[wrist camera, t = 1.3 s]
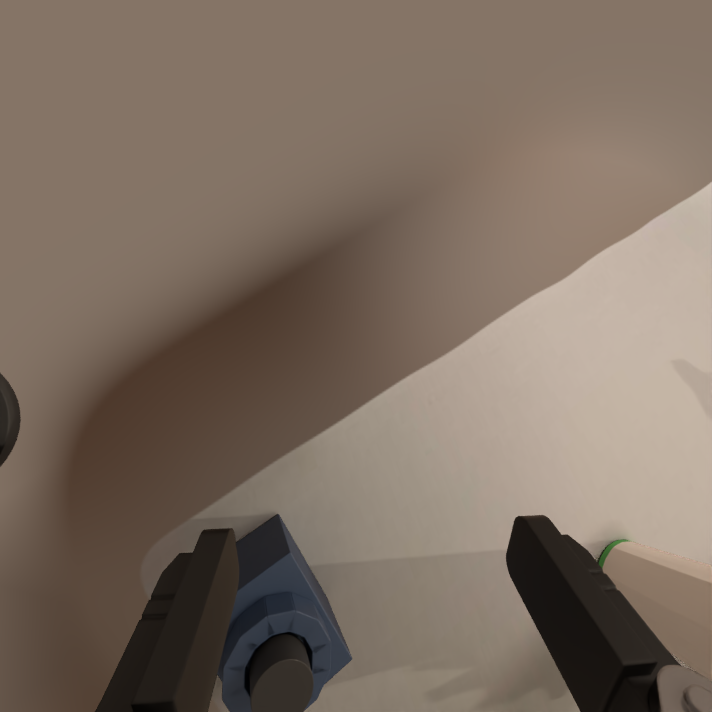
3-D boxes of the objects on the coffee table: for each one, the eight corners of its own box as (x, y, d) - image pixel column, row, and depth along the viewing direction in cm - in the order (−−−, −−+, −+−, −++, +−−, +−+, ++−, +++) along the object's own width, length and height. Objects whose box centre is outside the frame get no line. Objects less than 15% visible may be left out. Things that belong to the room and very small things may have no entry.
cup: (657, 612, 44) (863, 726, 29) (588, 643, 40) (788, 793, 25) (648, 513, 44) (845, 577, 30) (578, 533, 40) (768, 619, 26)
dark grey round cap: (316, 664, 21) (324, 693, 19) (266, 708, 20) (269, 743, 18) (290, 621, 21) (295, 645, 19) (238, 662, 20) (238, 693, 18)
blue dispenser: (327, 598, 30) (362, 683, 22) (254, 657, 28) (262, 778, 20) (278, 513, 29) (295, 567, 21) (199, 567, 27) (182, 652, 19)
